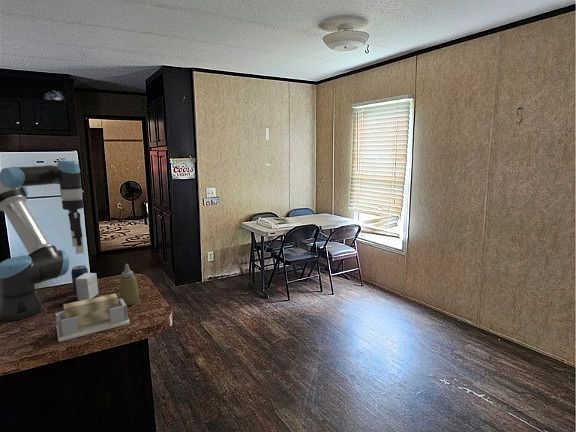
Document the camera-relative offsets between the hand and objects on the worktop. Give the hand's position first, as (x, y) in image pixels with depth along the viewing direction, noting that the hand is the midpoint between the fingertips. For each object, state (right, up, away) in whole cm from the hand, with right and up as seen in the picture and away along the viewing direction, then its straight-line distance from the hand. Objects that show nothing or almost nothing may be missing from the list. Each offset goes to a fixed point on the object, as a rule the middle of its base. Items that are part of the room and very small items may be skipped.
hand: (78, 249), depth 151 cm
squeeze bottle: (+17, -25, +11) cm, 32 cm away
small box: (-6, -24, +18) cm, 31 cm away
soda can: (-13, -23, +26) cm, 37 cm away
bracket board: (+12, -29, -10) cm, 33 cm away
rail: (+12, -26, -10) cm, 31 cm away
